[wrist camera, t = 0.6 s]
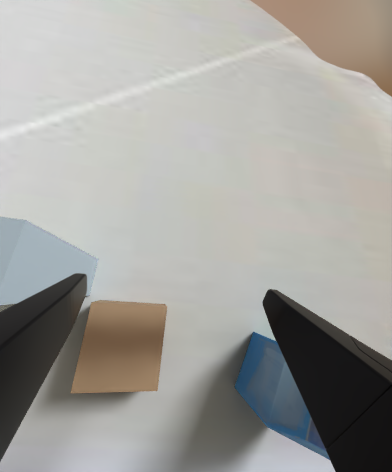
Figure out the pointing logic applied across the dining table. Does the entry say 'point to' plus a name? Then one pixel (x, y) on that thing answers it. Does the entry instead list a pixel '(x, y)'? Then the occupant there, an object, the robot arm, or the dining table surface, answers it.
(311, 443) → the perfume bottle
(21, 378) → the robot arm
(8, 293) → the slate-blue post
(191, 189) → the dining table surface
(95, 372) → the walnut plinth
